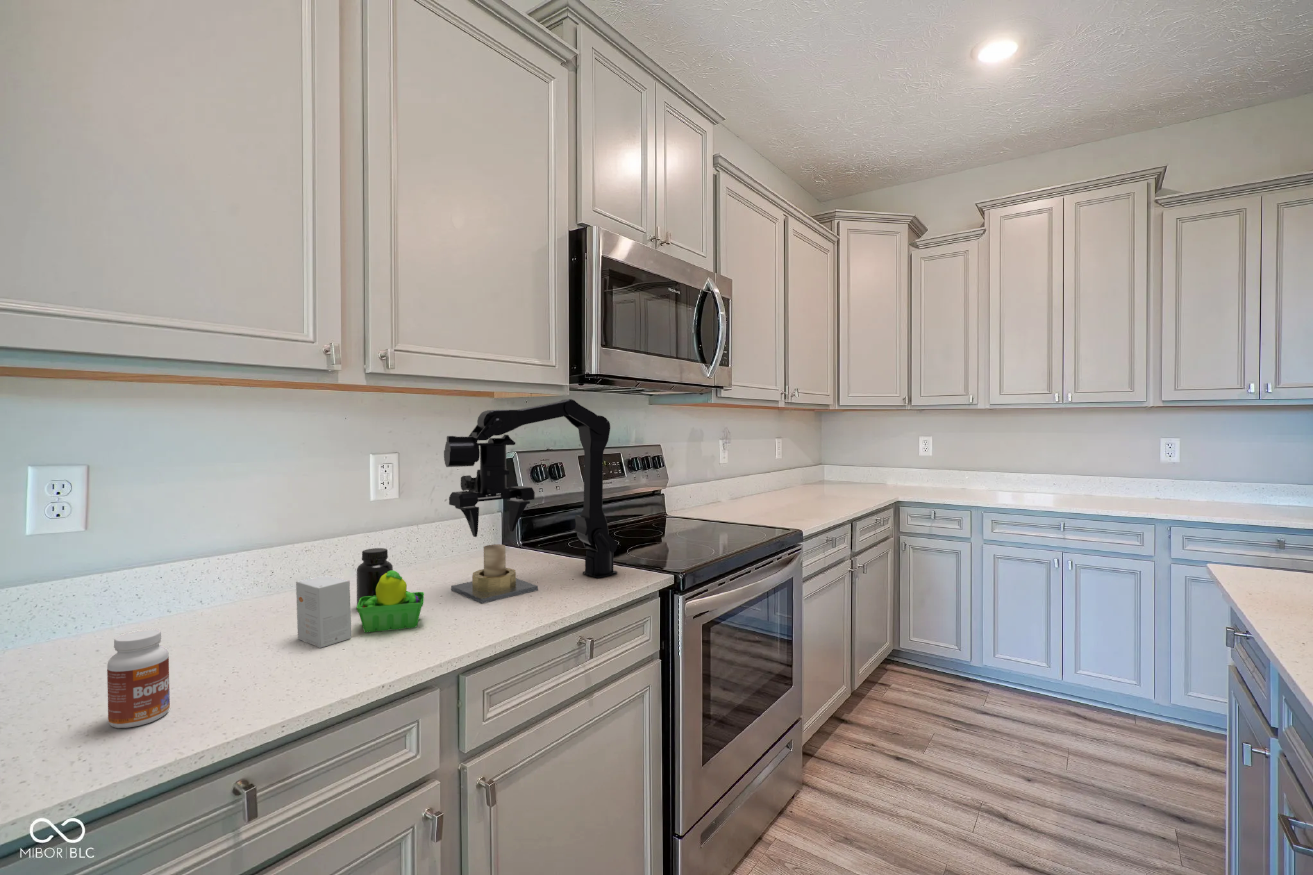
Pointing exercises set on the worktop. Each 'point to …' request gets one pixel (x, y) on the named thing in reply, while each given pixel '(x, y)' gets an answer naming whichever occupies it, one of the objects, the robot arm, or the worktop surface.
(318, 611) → the small box
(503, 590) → the ring collar
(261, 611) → the worktop surface
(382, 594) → the fruit basket
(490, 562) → the piston
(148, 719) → the pill bottle
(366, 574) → the supplement bottle
